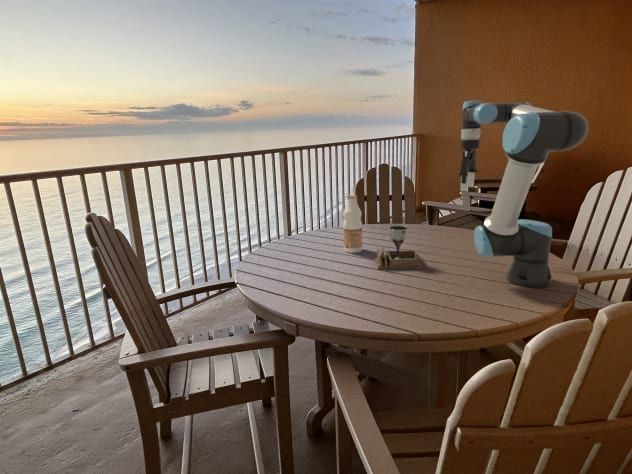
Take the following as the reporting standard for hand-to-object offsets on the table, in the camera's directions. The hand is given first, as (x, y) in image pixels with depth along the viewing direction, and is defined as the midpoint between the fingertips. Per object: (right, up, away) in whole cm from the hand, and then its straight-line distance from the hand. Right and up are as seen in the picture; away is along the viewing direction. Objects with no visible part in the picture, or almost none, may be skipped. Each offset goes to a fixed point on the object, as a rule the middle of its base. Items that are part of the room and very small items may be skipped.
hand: (467, 189), depth 167 cm
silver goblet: (-30, -32, +5) cm, 44 cm away
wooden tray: (-30, -33, +3) cm, 45 cm away
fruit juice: (-48, -28, +25) cm, 61 cm away
